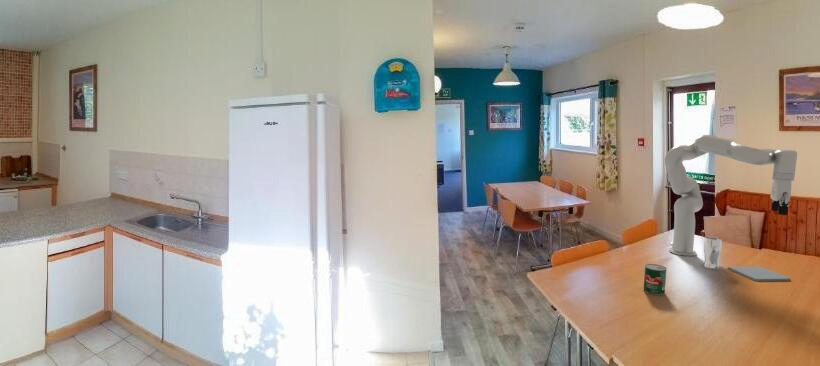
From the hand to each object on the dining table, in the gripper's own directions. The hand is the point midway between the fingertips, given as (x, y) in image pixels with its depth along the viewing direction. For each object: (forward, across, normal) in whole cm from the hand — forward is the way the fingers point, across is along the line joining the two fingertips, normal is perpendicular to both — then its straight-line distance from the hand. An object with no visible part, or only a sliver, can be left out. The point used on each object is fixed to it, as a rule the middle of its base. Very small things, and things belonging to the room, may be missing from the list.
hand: (778, 212), depth 190 cm
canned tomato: (+30, +52, -52) cm, 79 cm away
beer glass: (+30, +4, -24) cm, 39 cm away
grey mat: (+29, +7, -7) cm, 31 cm away
